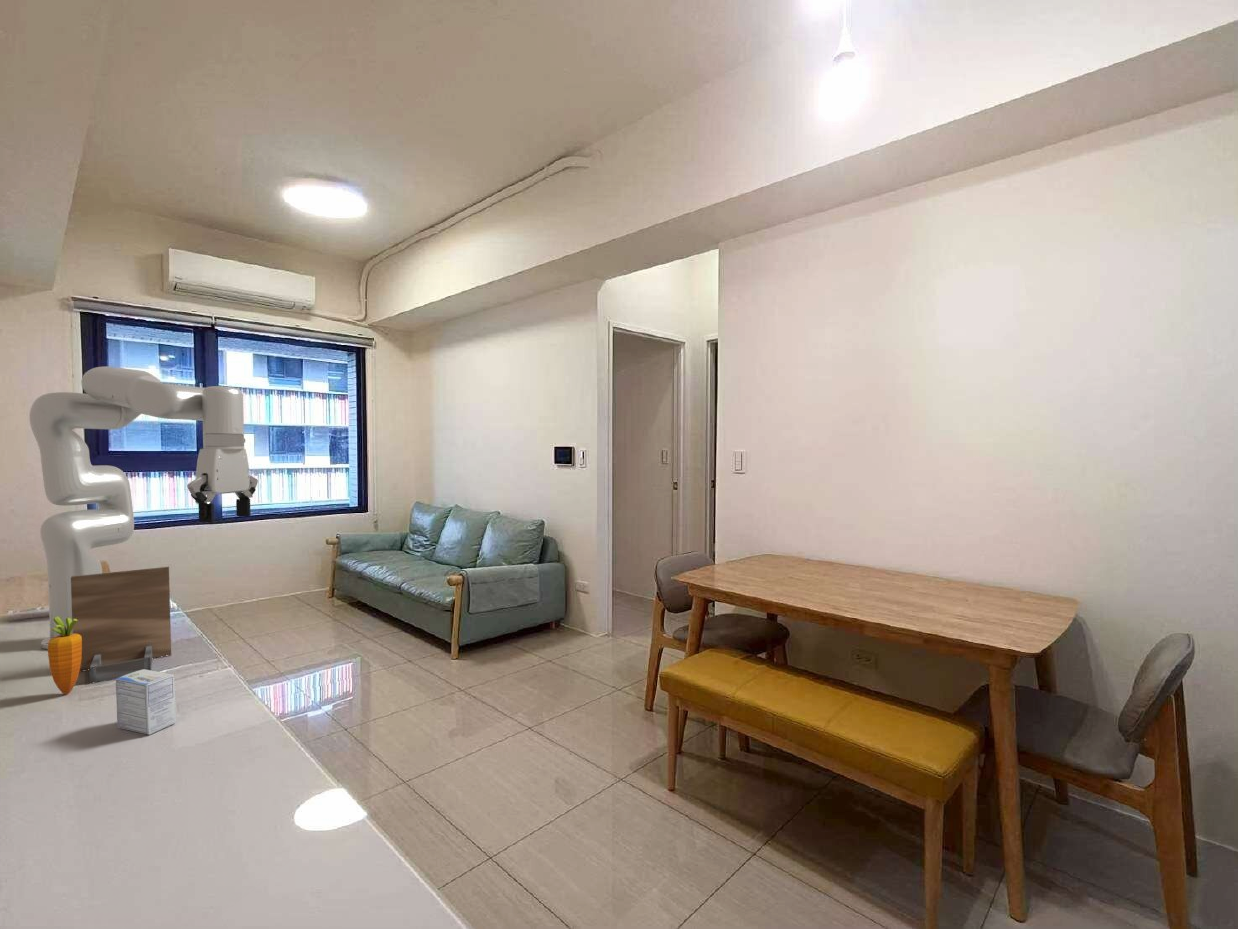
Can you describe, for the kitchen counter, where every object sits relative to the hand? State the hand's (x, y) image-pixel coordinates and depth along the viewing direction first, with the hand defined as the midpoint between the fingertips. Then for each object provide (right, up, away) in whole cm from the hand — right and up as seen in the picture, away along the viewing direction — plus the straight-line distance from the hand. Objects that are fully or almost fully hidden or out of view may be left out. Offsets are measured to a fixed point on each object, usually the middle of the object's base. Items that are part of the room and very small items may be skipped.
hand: (225, 519), depth 128 cm
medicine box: (+8, -32, -31) cm, 46 cm away
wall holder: (-17, -31, -7) cm, 36 cm away
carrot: (-17, -32, -19) cm, 41 cm away
